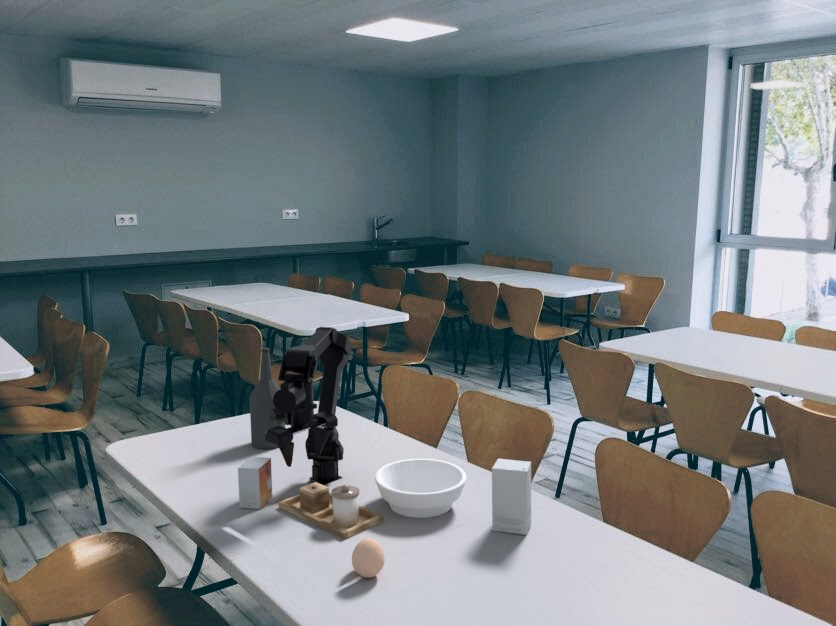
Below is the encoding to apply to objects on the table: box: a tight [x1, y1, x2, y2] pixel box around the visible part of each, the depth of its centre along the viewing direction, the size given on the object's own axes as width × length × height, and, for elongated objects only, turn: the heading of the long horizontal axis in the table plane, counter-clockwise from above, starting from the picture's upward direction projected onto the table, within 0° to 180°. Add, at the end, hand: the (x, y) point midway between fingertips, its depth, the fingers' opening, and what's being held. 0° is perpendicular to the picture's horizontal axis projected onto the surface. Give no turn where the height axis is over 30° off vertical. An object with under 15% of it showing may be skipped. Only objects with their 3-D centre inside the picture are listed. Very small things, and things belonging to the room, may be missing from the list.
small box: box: [237, 456, 273, 510], centre depth 183 cm, size 8×6×10 cm
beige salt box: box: [299, 481, 330, 513], centre depth 179 cm, size 5×5×5 cm
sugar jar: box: [331, 484, 360, 527], centre depth 171 cm, size 6×6×9 cm
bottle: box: [249, 347, 286, 450], centre depth 223 cm, size 10×10×30 cm
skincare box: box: [491, 458, 532, 536], centre depth 169 cm, size 8×7×16 cm
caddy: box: [278, 492, 384, 540], centre depth 176 cm, size 12×24×2 cm, turn 47°
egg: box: [351, 537, 386, 579], centre depth 149 cm, size 7×7×8 cm
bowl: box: [374, 458, 467, 519], centre depth 181 cm, size 22×22×8 cm
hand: (303, 460), depth 182 cm, fingers open, 9 cm apart
